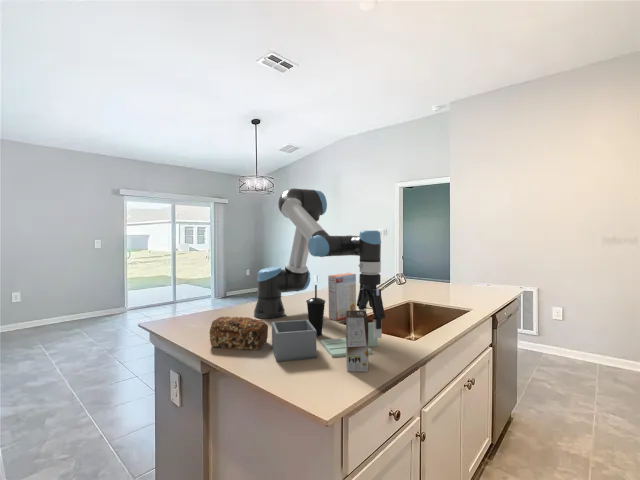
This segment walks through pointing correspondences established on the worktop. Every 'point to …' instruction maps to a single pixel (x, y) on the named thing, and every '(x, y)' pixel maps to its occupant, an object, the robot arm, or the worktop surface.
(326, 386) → the worktop surface
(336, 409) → the worktop surface
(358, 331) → the coffee box
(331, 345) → the lid
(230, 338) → the bread
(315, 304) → the drinking cup
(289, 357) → the tub
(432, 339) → the worktop surface
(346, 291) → the cracker box
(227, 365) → the worktop surface
